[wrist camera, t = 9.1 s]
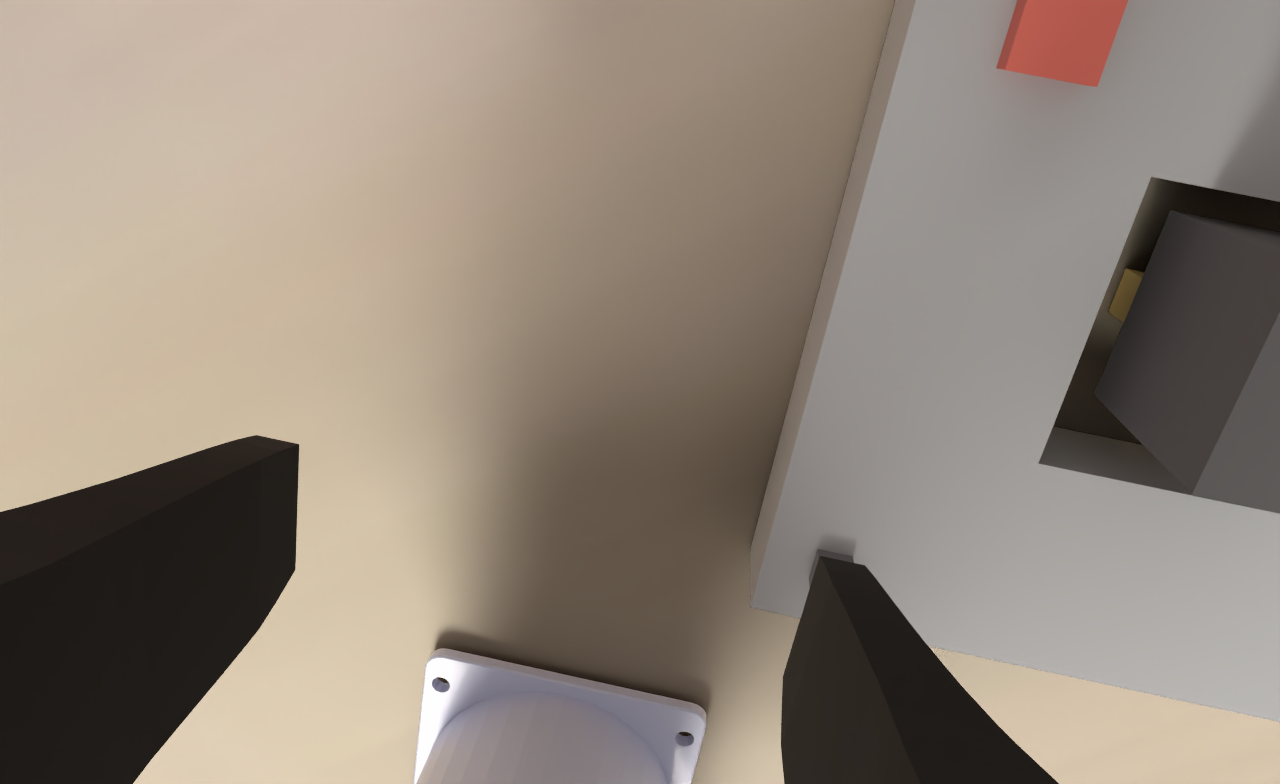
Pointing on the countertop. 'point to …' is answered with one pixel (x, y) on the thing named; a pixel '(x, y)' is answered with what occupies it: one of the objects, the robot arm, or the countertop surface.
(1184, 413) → the plug
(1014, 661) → the socket plate
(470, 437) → the countertop surface
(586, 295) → the countertop surface
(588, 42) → the countertop surface
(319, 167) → the countertop surface
